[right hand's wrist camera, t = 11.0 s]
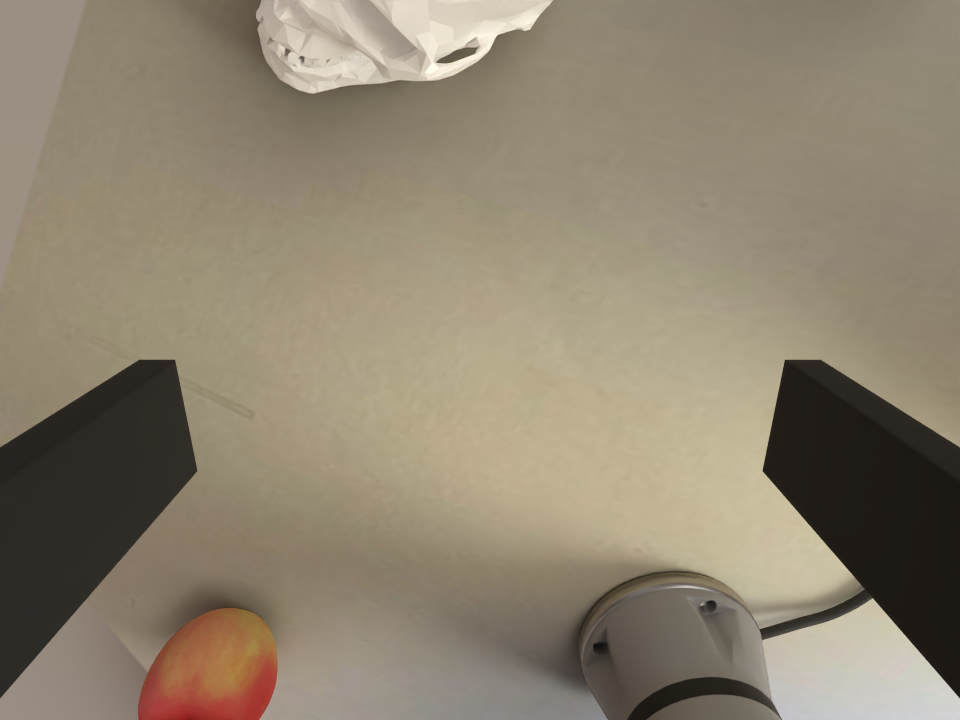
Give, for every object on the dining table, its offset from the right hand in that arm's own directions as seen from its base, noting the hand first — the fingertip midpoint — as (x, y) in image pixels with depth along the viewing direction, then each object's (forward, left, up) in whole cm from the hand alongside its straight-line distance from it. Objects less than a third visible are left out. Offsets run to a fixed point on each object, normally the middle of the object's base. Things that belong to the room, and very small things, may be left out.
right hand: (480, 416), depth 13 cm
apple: (+34, +20, -27) cm, 48 cm away
